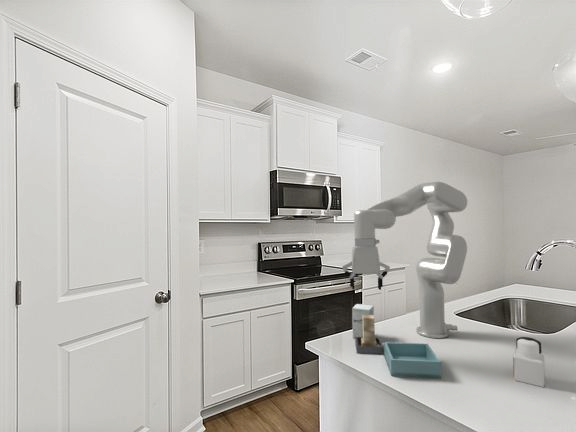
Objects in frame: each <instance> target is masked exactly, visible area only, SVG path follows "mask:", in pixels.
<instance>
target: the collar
mask: <svg viewBox="0 0 576 432" xmlns="http://www.w3.org/2000/svg"><path fill="white" fill-rule="evenodd" d="M361 338H363V337H355V338H354V344H355V351H356V352H355V353H356V354H367V355H368V354H370V355H371V354H373V355H384V343H383V342H382V339H381V337H376V336H375V340H376V343H377V346H361Z"/></svg>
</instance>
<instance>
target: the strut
mask: <svg viewBox="0 0 576 432" xmlns="http://www.w3.org/2000/svg"><path fill="white" fill-rule="evenodd" d="M362 318H363V338H361V344H360V346H378V345H377V343H376V340H375V337H376V336H375V334H376V333H375V329H376V328H375V327H376V326H375V317H374V316H373V315H362Z"/></svg>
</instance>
